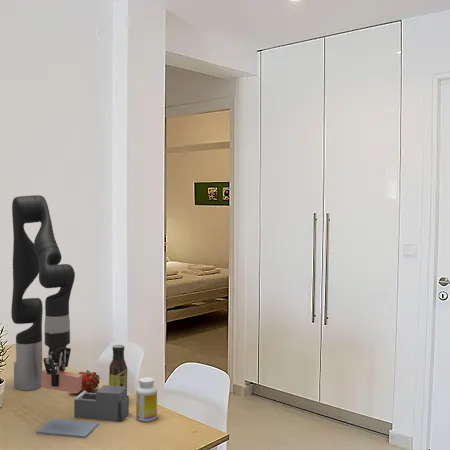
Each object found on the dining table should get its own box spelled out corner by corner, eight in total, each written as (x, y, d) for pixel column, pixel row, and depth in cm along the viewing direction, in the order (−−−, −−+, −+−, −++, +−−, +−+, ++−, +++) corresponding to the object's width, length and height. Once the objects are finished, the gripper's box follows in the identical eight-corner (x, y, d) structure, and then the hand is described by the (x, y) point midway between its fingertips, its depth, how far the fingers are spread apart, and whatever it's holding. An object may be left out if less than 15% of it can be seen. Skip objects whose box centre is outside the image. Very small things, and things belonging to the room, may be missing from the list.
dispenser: (74, 417, 185) (74, 390, 184) (83, 409, 191) (83, 383, 191) (121, 421, 182) (121, 394, 181) (128, 413, 189) (128, 386, 188)
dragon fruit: (102, 393, 211) (71, 405, 204) (93, 375, 216) (63, 386, 209) (105, 380, 206) (74, 391, 199) (96, 362, 211) (65, 372, 204)
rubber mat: (36, 433, 172) (36, 431, 172) (51, 420, 182) (51, 418, 182) (85, 438, 170) (85, 436, 170) (99, 424, 179) (99, 422, 179)
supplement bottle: (160, 416, 186) (161, 378, 186) (149, 423, 180) (150, 384, 180) (143, 412, 189) (143, 375, 189) (132, 420, 183) (132, 381, 183)
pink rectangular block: (40, 387, 175) (41, 371, 175) (45, 384, 178) (46, 368, 178) (76, 393, 173) (78, 377, 173) (81, 390, 176) (82, 374, 176)
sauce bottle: (123, 406, 194) (123, 349, 193) (105, 405, 196) (105, 348, 194) (130, 399, 201) (130, 344, 200) (113, 398, 202) (113, 343, 201)
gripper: (56, 323, 183) (57, 376, 183) (34, 333, 169) (35, 391, 170) (78, 324, 181) (79, 378, 182) (57, 335, 167) (58, 393, 168)
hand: (57, 384), depth 176 cm, fingers closed on pink rectangular block, 2 cm apart
